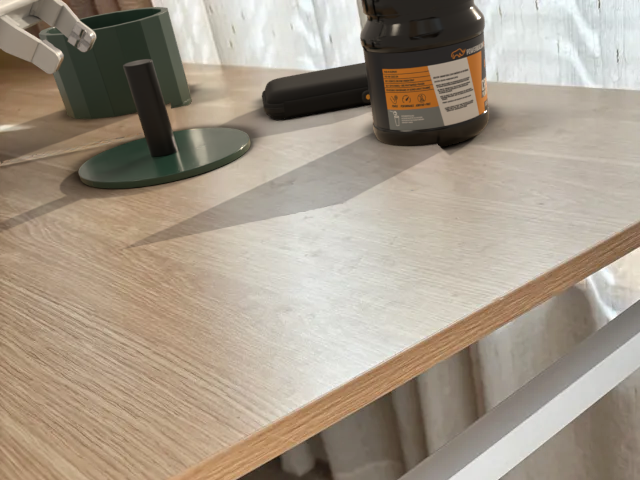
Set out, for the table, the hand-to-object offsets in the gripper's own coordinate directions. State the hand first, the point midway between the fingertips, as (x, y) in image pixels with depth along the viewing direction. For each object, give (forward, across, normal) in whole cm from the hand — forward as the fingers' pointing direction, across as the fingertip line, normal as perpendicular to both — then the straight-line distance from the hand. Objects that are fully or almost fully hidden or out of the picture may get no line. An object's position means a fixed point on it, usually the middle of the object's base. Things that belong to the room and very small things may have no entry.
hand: (76, 54), depth 72 cm
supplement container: (+29, +2, +14) cm, 32 cm away
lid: (+10, 0, -3) cm, 11 cm away
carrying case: (+22, -14, +7) cm, 27 cm away
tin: (+3, -27, -11) cm, 29 cm away
